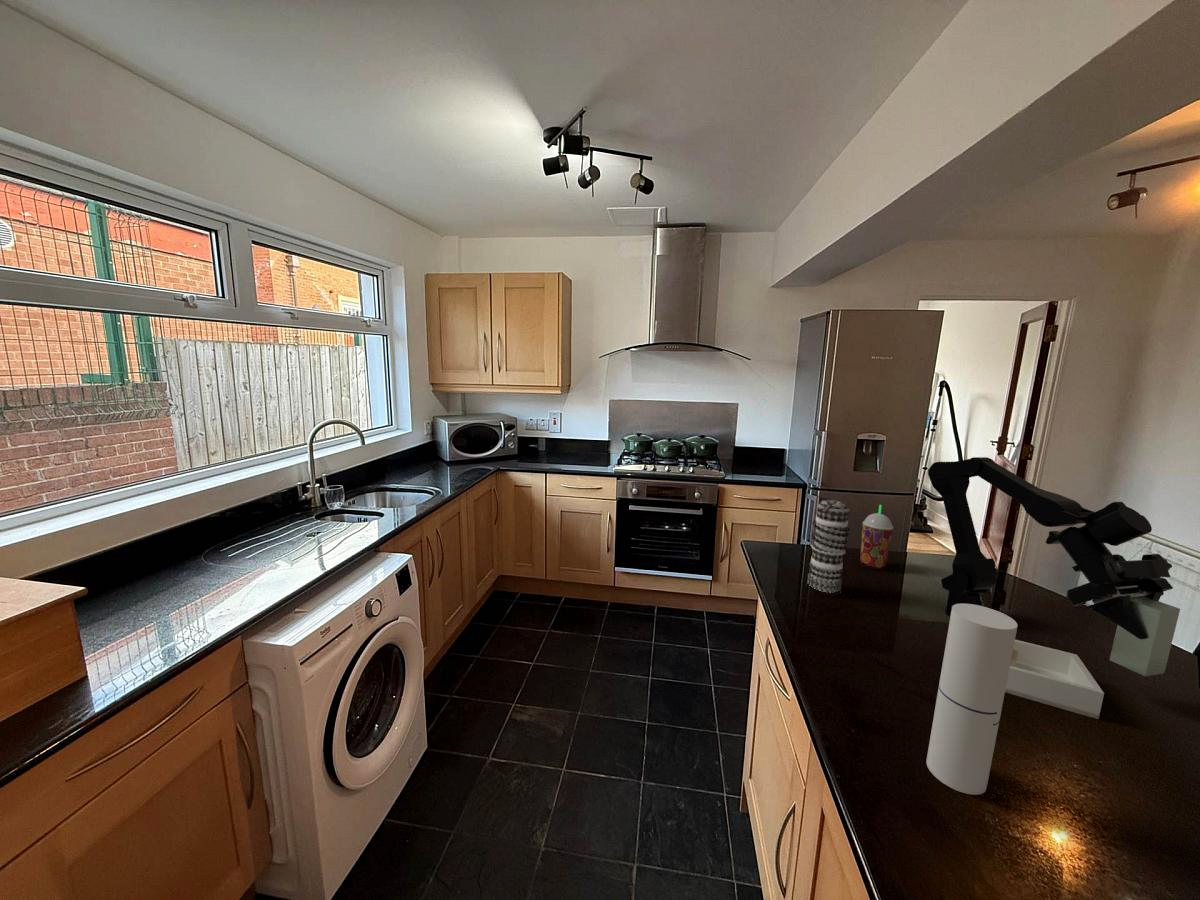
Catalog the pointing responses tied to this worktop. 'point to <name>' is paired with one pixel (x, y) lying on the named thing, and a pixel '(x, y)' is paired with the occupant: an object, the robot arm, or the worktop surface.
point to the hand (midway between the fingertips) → (1154, 637)
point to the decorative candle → (828, 546)
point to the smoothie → (876, 539)
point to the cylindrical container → (970, 696)
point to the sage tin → (1156, 647)
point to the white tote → (1054, 680)
